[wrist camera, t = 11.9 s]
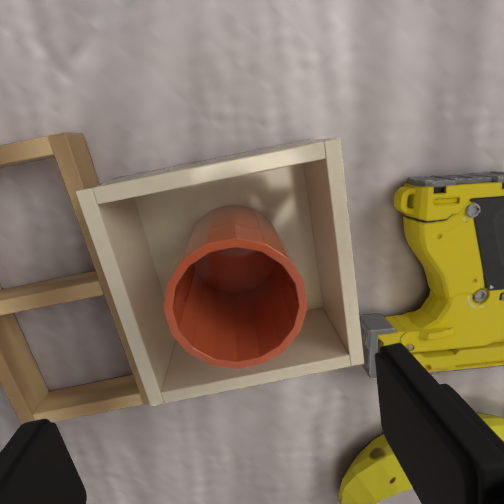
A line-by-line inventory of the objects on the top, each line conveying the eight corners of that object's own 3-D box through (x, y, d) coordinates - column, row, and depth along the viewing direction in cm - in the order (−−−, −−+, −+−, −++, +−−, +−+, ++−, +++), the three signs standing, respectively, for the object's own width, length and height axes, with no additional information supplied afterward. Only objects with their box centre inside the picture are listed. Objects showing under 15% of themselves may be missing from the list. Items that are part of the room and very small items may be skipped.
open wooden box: (169, 343, 26) (150, 406, 20) (118, 177, 22) (74, 191, 16) (332, 310, 26) (364, 364, 20) (309, 139, 22) (340, 137, 16)
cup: (199, 301, 25) (184, 380, 17) (176, 215, 23) (146, 255, 15) (287, 284, 25) (315, 353, 17) (272, 196, 23) (295, 225, 15)
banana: (322, 514, 27) (396, 575, 33) (542, 414, 23) (577, 503, 30) (308, 456, 31) (376, 521, 37) (494, 364, 27) (534, 452, 34)
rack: (41, 403, 27) (23, 428, 25) (-72, 164, 21) (-110, 167, 19) (163, 379, 27) (157, 402, 25) (83, 133, 21) (64, 132, 19)
